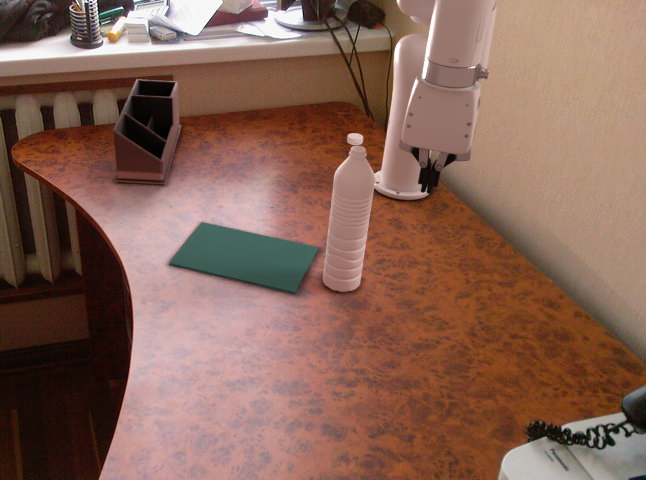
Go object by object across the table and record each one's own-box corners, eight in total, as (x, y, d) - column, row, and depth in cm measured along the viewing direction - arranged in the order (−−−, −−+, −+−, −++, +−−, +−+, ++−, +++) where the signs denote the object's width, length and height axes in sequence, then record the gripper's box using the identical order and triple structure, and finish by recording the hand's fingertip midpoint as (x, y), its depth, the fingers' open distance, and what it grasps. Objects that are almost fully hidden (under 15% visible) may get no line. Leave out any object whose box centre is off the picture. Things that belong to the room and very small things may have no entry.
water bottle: (362, 293, 125) (382, 158, 110) (324, 292, 125) (339, 156, 110) (356, 264, 132) (374, 133, 117) (320, 263, 132) (334, 132, 117)
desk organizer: (181, 127, 175) (180, 80, 169) (165, 185, 152) (163, 134, 145) (137, 124, 175) (134, 77, 168) (114, 182, 152) (109, 131, 145)
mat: (202, 223, 141) (202, 221, 140) (318, 249, 135) (318, 247, 135) (169, 264, 129) (169, 262, 129) (295, 294, 124) (295, 292, 124)
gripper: (506, 71, 104) (478, 187, 115) (401, 55, 107) (383, 170, 118) (502, 89, 98) (473, 210, 109) (392, 72, 102) (374, 191, 113)
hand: (426, 189), depth 114 cm, fingers closed
